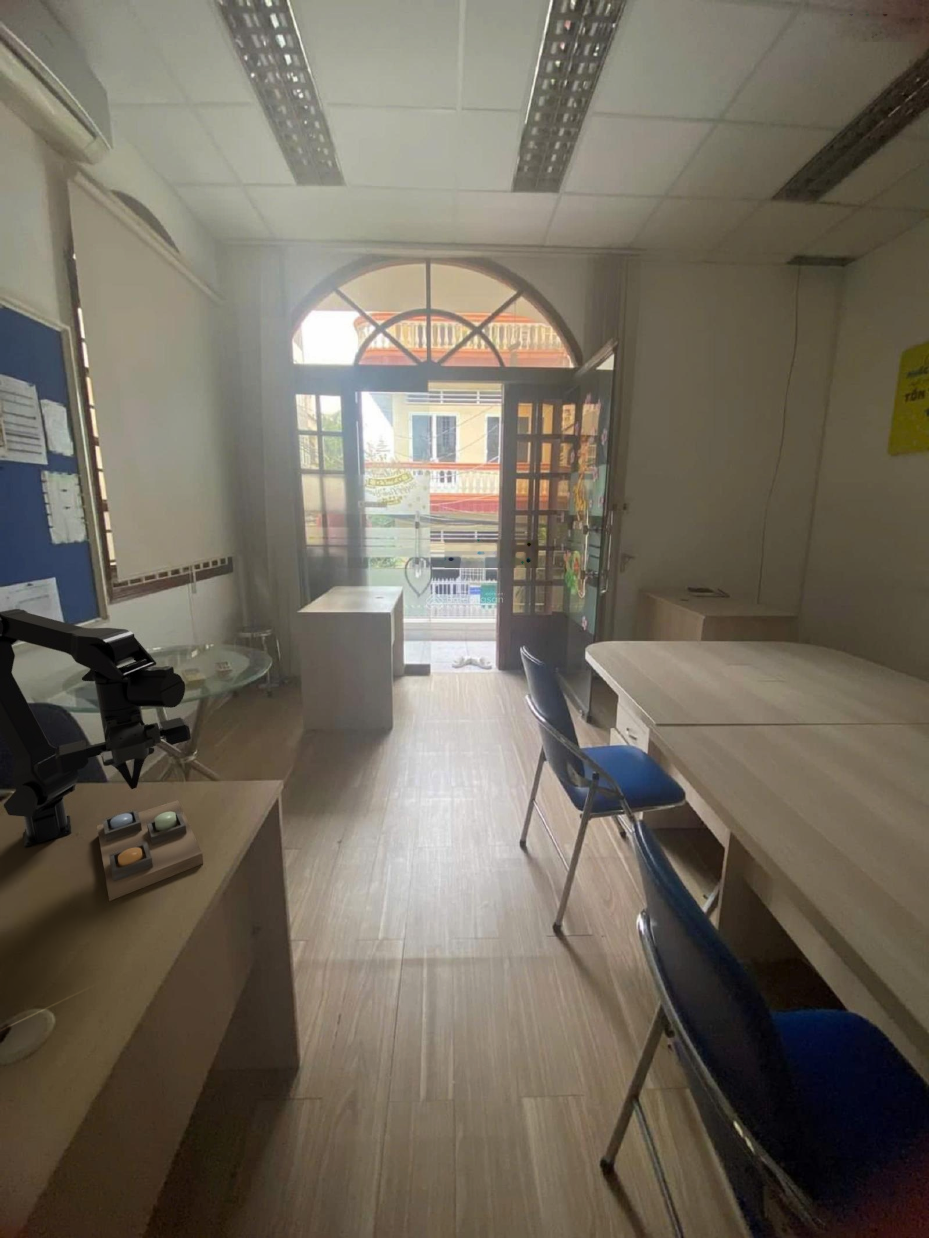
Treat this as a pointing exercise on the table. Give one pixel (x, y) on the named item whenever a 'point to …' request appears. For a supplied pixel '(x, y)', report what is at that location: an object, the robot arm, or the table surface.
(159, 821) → the sage button
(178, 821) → the console
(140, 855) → the orange button
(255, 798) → the table surface
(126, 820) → the slate blue button
